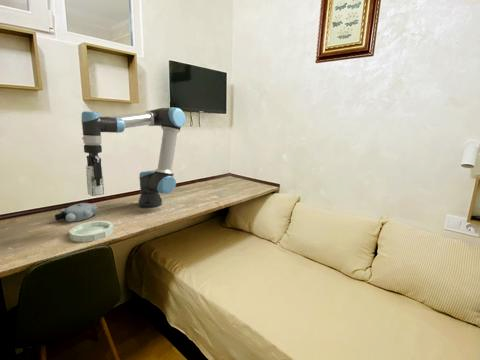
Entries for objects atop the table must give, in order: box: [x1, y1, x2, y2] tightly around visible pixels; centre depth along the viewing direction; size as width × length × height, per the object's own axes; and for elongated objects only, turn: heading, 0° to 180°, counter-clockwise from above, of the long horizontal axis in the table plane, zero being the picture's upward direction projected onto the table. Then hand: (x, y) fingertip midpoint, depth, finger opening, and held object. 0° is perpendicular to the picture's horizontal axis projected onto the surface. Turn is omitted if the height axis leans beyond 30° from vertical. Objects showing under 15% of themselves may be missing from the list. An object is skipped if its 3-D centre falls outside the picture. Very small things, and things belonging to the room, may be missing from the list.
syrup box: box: [85, 165, 105, 197], centre depth 125 cm, size 6×6×14 cm
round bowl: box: [68, 220, 115, 243], centre depth 123 cm, size 18×18×3 cm
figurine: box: [54, 202, 98, 222], centre depth 142 cm, size 17×8×20 cm
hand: (95, 190), depth 126 cm, fingers closed on syrup box, 6 cm apart
